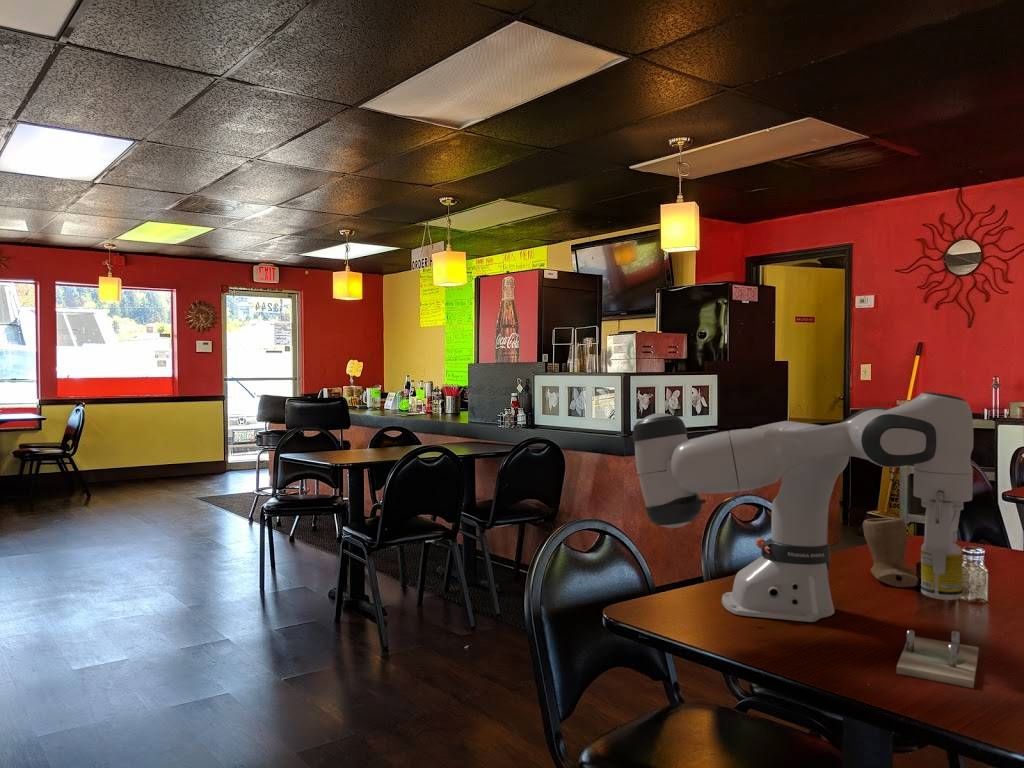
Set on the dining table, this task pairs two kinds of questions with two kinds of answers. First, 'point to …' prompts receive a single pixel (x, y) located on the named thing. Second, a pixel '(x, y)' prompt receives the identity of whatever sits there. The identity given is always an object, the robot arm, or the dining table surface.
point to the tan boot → (889, 551)
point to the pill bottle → (942, 584)
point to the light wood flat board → (939, 662)
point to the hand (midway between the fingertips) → (940, 568)
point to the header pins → (952, 648)
